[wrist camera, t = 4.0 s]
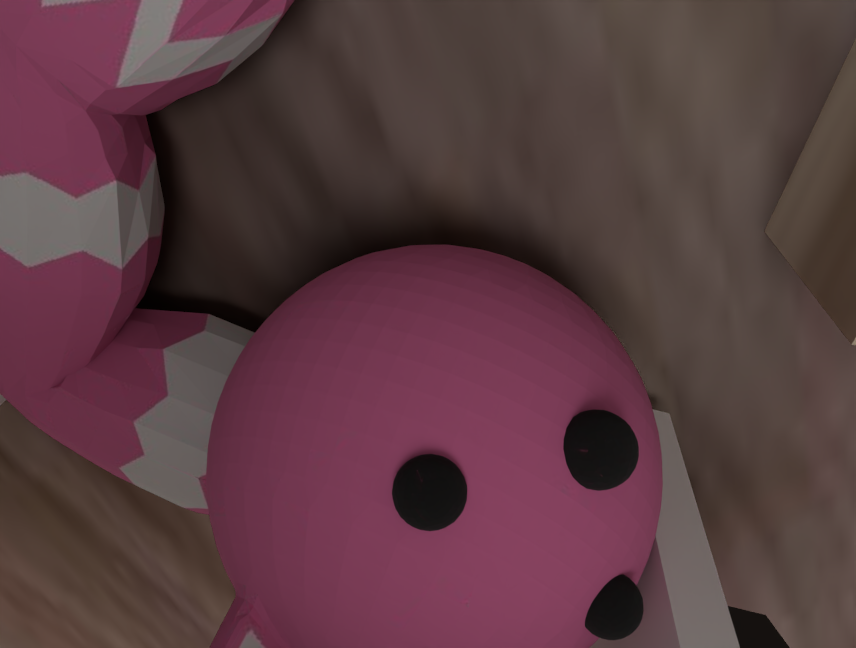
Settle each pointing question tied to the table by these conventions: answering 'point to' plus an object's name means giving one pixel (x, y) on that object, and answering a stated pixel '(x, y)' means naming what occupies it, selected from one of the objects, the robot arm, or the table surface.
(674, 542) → the robot arm
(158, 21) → the toy
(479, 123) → the table surface
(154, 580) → the table surface
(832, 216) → the lower slab
